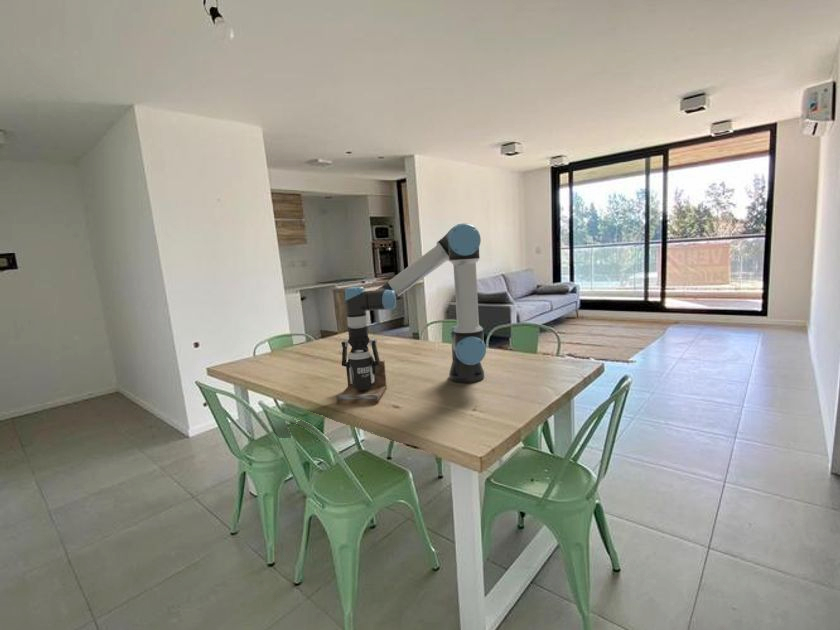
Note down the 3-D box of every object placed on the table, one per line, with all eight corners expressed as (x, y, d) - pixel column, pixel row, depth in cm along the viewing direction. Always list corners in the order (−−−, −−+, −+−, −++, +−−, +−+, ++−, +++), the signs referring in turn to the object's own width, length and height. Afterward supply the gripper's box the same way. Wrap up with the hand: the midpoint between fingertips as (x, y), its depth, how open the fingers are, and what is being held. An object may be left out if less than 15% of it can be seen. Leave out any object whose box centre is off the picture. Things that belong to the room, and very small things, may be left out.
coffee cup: (352, 393, 164) (348, 355, 161) (349, 385, 173) (346, 350, 171) (376, 389, 166) (373, 352, 164) (372, 382, 175) (369, 347, 173)
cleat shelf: (386, 388, 176) (384, 360, 174) (378, 403, 160) (375, 372, 158) (349, 389, 178) (346, 362, 176) (337, 404, 162) (334, 374, 160)
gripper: (385, 323, 168) (389, 378, 172) (335, 325, 171) (340, 380, 174) (381, 327, 161) (385, 384, 164) (329, 329, 163) (334, 386, 167)
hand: (362, 382), depth 169 cm, fingers closed on coffee cup, 8 cm apart
